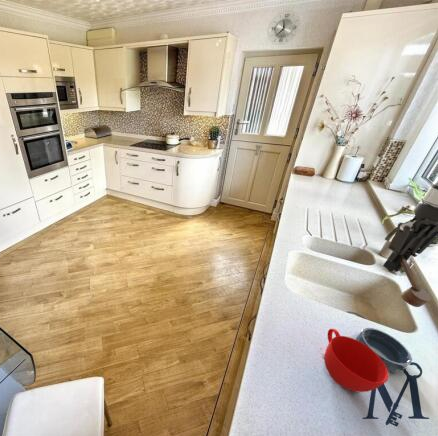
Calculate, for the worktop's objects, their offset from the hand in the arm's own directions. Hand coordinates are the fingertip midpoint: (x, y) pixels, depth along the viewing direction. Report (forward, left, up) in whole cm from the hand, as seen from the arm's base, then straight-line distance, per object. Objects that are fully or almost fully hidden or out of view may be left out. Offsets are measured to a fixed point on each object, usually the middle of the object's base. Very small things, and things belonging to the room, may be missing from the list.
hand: (390, 268), depth 76 cm
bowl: (+3, +14, -24) cm, 28 cm away
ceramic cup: (+21, +19, -25) cm, 37 cm away
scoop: (0, +4, -3) cm, 5 cm away
